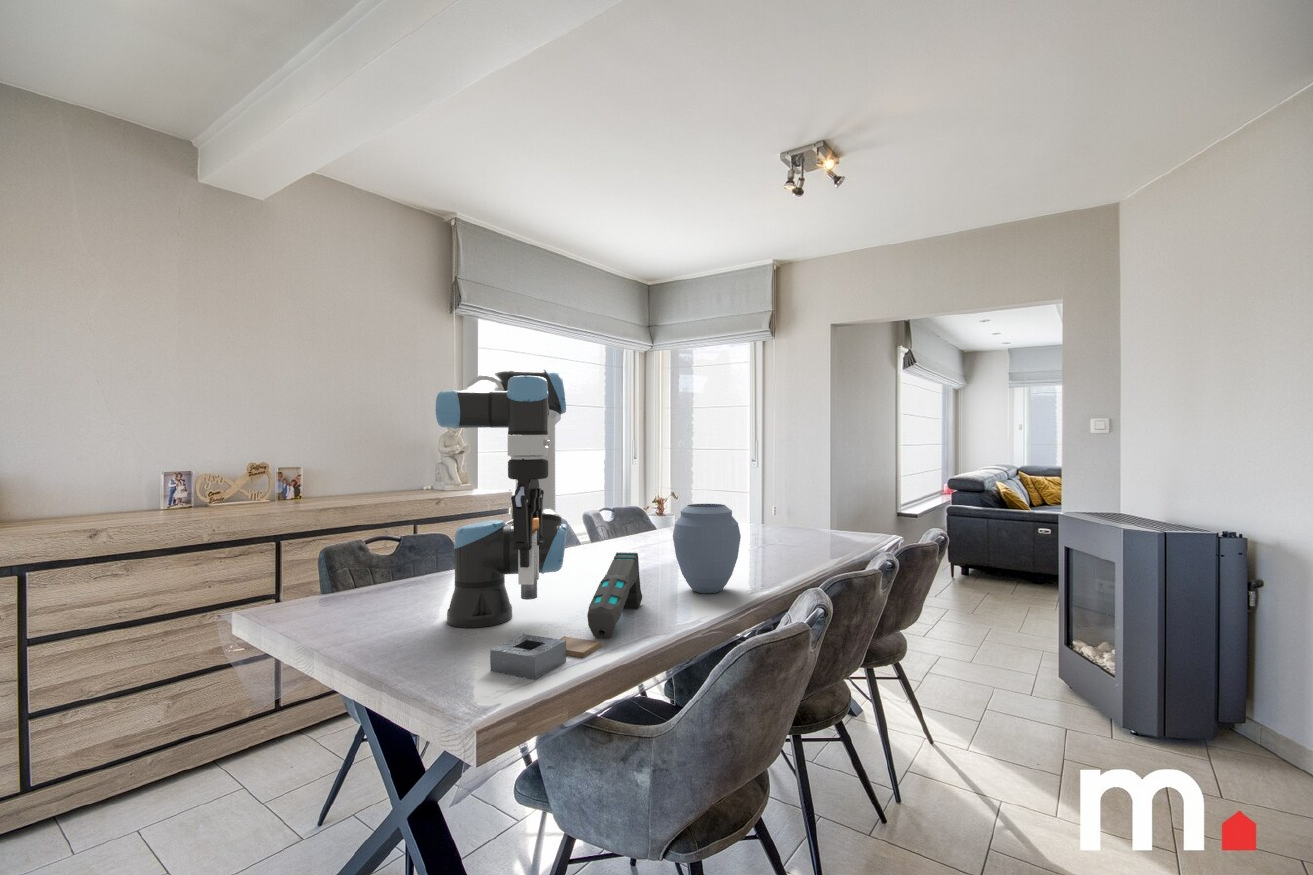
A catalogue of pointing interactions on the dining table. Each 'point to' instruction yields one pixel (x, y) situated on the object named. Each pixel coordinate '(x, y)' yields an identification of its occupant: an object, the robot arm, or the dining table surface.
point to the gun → (615, 595)
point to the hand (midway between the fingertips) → (528, 581)
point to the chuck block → (528, 656)
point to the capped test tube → (531, 590)
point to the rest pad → (580, 646)
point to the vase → (706, 546)
